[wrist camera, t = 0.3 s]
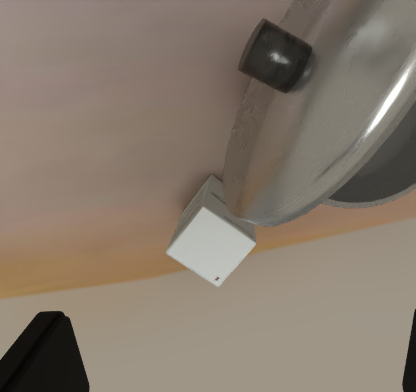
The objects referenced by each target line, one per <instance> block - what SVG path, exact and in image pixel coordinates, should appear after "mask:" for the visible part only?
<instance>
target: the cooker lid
mask: <svg viewBox="0 0 416 392" xmlns="http://www.w3.org/2000/svg"><path fill="white" fill-rule="evenodd" d="M238 70H239V71H240V72H242V73H244V74H246V75H248V76H250V77H252V79H251V81H250V84H249V86H248V88H247V91H246V93H245V95H244V98H243V100H242V103H241V106H240V108H239V111H238V114H237V117H236V120H235V123H234V126H233V129H232V132H231V136H230V139H229V143H228V147H227V151H226V156H225V162H224V169H223V184H222V185H223V196H224V200H225V203H226V206H227V208H228V210H229V211H230V212H231V213H232V214H233V215H234V216H236V217H238V218H240V219H242V220H245V221H247V222H250V223H253V224H255V225H260V226H265V227H267V226H277V225H280V224H284V223H287V222H290V221H292V220H294V219H296V218H298V217H300V216H302V215H304V214H306V213H308V212H309V211H311V210H312V209H313V208H315V207H316V206H318V205H319V204H321V203H322V202H324V201H325V200H326V199H328V198H329V197H330V196H331V195H332V194H334V193H335V192H336V191H337V190H338V189H340V188H341V187H342V186H343V185H344V184H345V183H347V182H348V181H349V180H350V179H351V178H352V177H353V176H354V175H355V174H356V173H357V172H358V171H359V170H360V169H361V168H362V167H363V166H364V165H365V164H366V163H367V162H368V161H369V159H370V158H371V157H372V156H373V155H374V154H375V152H376V151H377V150H378V149H379V148H380V147H381V145H382V144H383V143H384V142H385V141H386V139H387V138H388V137H389V136H390V135H391V134H392V132H393V131H394V130H395V128H396V127H397V126H398V124H399V123H400V122H401V120H402V119H403V118H404V116H405V115H406V113H407V112H408V111H409V109H410V108H411V107H412V105H413V104H414V103H415V101H416V0H294V1H293V2H292V4H291V6H290V7H289V9H288V11H287V12H286V14H285V16H284V17H283V19H282V21H281V23H280V24H279V26H277V25H275V24H273V23H271V22H270V21H268V20H266V19H262V20H261V21H260V22H259V24H258V25H257V27H256V28H255V30H254V31H253V33H252V35H251V37H250V39H249V41H248V43H247V45H246V47H245V49H244V52H243V54H242V57H241V60H240V63H239V67H238Z"/></svg>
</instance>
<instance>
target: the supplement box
mask: <svg viewBox="0 0 416 392" xmlns="http://www.w3.org/2000/svg"><path fill="white" fill-rule="evenodd" d="M222 184H223V183H222V182H221V181H220V180H218V179H217V178H216V177H214V176H213V175H212V174H211V175H210V176H209V178H208V179H207V180H206V182H205V183H204V184H203V186H202V187H201V188H200V190H199V191H198V192H197V193H196V195H195V196H194V197H193V199H192V200H191V201H190V203H189V204H188V205H187V207H186V208H185V209H184V211H183V213H182V215H181V217H180V220H179V222H178V224H177V227H176V229H175V232H174V234H173V237H172V239H171V242H170V244H169V246H168V248H167V250H166V254H167V255H169V256H170V257H172V258H173V259H175V260H177V261H178V262H180V263H181V264H183V265H184V266H186V267H187V268H189V269H190V270H192V271H193V272H195V273H197V274H198V275H199V276H201V277H203V278H204V279H206V280H207V281H209V282H210V283H212V284H213V285H215V286H216V287H219V286H220V285H221V284H222V283H223V281H224V280H225V279H226V278H227V277H228V276H229V274H230V273H231V272H232V271H233V270H234V269H235V268H236V267H237V265H238V264H239V263H240V262H241V261H242V260H243V259H244V258H245V256H246V255H247V254H248V253H249V252H250V251H251V250H252V249H253V247H254V246H255V245H256V238H255V230H254V224H253V223H250V222H247V221H245V220H242V219H240V218H238V217H236V216H234V215H233V214H232V213H231V212H230V211H229V210H228V208H227V206H226V203H225V200H224V196H223V185H222Z"/></svg>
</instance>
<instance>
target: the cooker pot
mask: <svg viewBox="0 0 416 392" xmlns="http://www.w3.org/2000/svg"><path fill="white" fill-rule="evenodd" d="M414 189H416V101H415V103H414V104H413V105H412V107H411V108H410V109H409V111H408V112H407V113H406V115H405V116H404V118H403V119H402V120H401V122H400V123H399V124H398V126H397V127H396V128H395V130H394V131H393V132H392V134H391V135H390V136H389V137H388V138H387V139H386V141H385V142H384V143H383V144H382V145H381V147H380V148H379V149H378V150H377V151H376V152H375V154H374V155H373V156H372V157H371V158H370V159H369V161H368V162H367V163H366V164H365V165H364V166H363V167H362V168H361V169H360V170H359V171H358V172H357V173H356V174H355V175H354V176H353V177H352V178H351V179H350V180H349V181H348V182H347V183H345V184H344V185H343V186H342V187H341V188H340V189H338V190H337V191H336V192H335V193H334V194H332V195H331V196H330V197H329V198H328V199H326V200H325V201H324V202H322V204H326V205H330V206H334V207H341V208H365V207H372V206H376V205H381V204H384V203H387V202H390V201H393V200H395V199H397V198H400V197H402V196H404V195H406V194H408V193H409V192H411V191H413V190H414Z"/></svg>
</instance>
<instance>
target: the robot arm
mask: <svg viewBox="0 0 416 392" xmlns="http://www.w3.org/2000/svg"><path fill="white" fill-rule="evenodd" d="M402 385H403V391H404V392H416V309H415V312H414V318H413V325H412V330H411V336H410V341H409V348H408V353H407V359H406V365H405V371H404V376H403V383H402ZM0 392H89V382H88V378H87V375H86V372H85V368H84V365H83V362H82V358H81V355H80V351H79V348H78V345H77V341H76V338H75V335H74V331H73V328H72V324H71V321H70V318H69V317H67V316H65V315H64V313H63V312H61V311H47V312H40V313H38V314H37V315H36V316H35V317H34V319H33V320H32V321H31V322H30V324H29V325H28V326H27V327H26V329H25V330H24V331H23V332H22V334H21V335H20V336H19V337H18V339H17V340H16V341H15V342H14V344H13V345H12V346H11V347H10V349H9V350H8V351H7V352H6V354H5V355H4V356H3V357H2V359H1V360H0Z"/></svg>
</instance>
